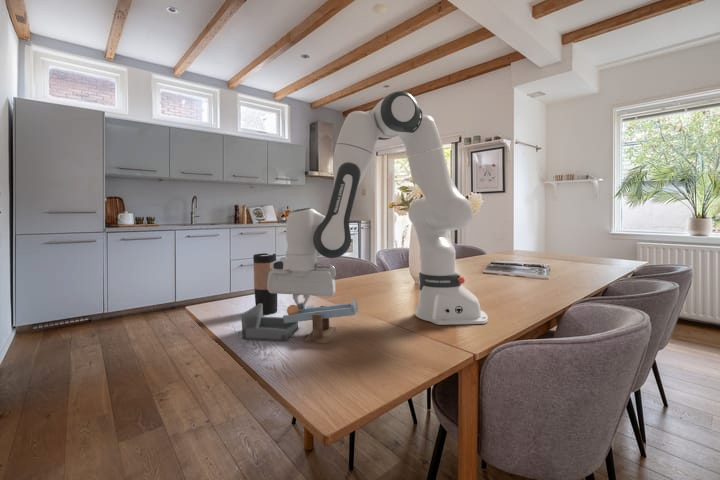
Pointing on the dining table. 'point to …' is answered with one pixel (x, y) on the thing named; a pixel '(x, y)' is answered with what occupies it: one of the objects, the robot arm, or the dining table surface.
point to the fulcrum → (320, 330)
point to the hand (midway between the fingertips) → (301, 309)
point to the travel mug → (264, 283)
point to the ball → (292, 310)
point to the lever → (323, 312)
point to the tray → (265, 326)
